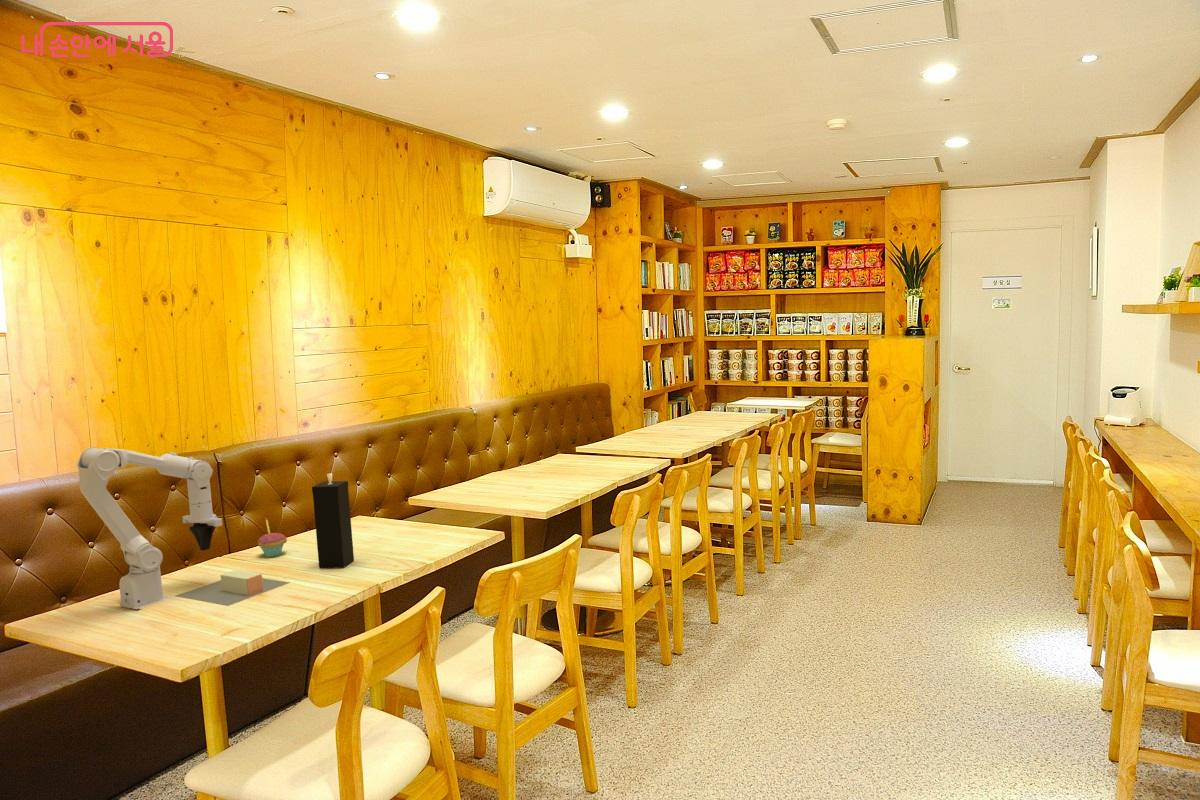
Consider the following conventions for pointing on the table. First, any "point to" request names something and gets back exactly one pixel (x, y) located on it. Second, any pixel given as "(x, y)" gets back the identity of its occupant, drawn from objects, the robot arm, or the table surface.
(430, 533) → the table surface
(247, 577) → the sage block
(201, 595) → the rubber mat
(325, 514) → the black pillar candle
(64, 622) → the table surface
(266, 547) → the cupcake
